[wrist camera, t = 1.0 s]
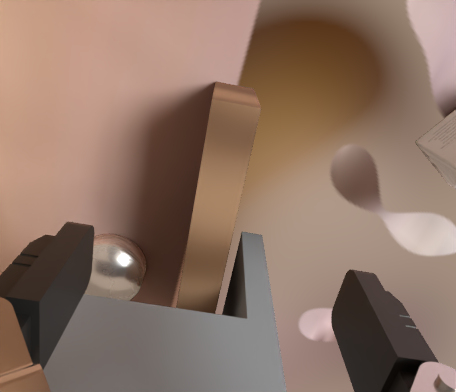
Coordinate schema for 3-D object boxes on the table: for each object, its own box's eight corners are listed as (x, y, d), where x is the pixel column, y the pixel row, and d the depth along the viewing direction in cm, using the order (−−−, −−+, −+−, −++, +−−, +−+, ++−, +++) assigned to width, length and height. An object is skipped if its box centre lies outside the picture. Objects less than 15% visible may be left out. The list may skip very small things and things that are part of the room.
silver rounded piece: (80, 228, 28) (70, 242, 26) (149, 238, 29) (144, 252, 27) (79, 283, 30) (70, 300, 28) (143, 292, 31) (138, 309, 29)
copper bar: (215, 81, 24) (212, 99, 19) (253, 88, 24) (261, 108, 19) (176, 307, 31) (165, 368, 26) (206, 312, 31) (201, 373, 26)
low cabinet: (0, 190, 27) (-237, 368, 13) (262, 235, 28) (293, 437, 15) (6, 304, 31) (-170, 529, 17) (235, 337, 32) (239, 570, 19)
